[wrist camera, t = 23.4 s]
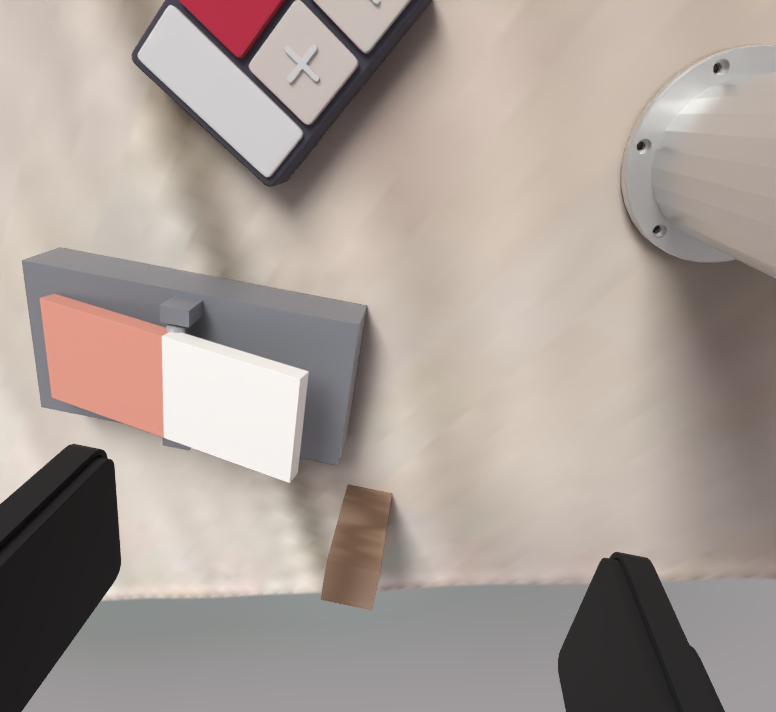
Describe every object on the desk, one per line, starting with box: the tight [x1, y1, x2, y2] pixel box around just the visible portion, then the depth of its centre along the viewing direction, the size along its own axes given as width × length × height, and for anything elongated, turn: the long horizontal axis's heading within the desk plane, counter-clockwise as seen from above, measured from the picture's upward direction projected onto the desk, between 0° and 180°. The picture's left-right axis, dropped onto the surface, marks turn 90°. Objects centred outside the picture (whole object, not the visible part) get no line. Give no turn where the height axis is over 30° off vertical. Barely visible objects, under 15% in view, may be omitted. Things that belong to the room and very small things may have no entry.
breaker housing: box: [22, 248, 367, 465], centre depth 40 cm, size 24×12×6 cm, turn 81°
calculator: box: [132, 0, 431, 186], centre depth 32 cm, size 11×4×15 cm
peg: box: [321, 485, 392, 610], centre depth 44 cm, size 4×4×9 cm
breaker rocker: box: [40, 294, 309, 483], centre depth 37 cm, size 20×8×2 cm, turn 81°
